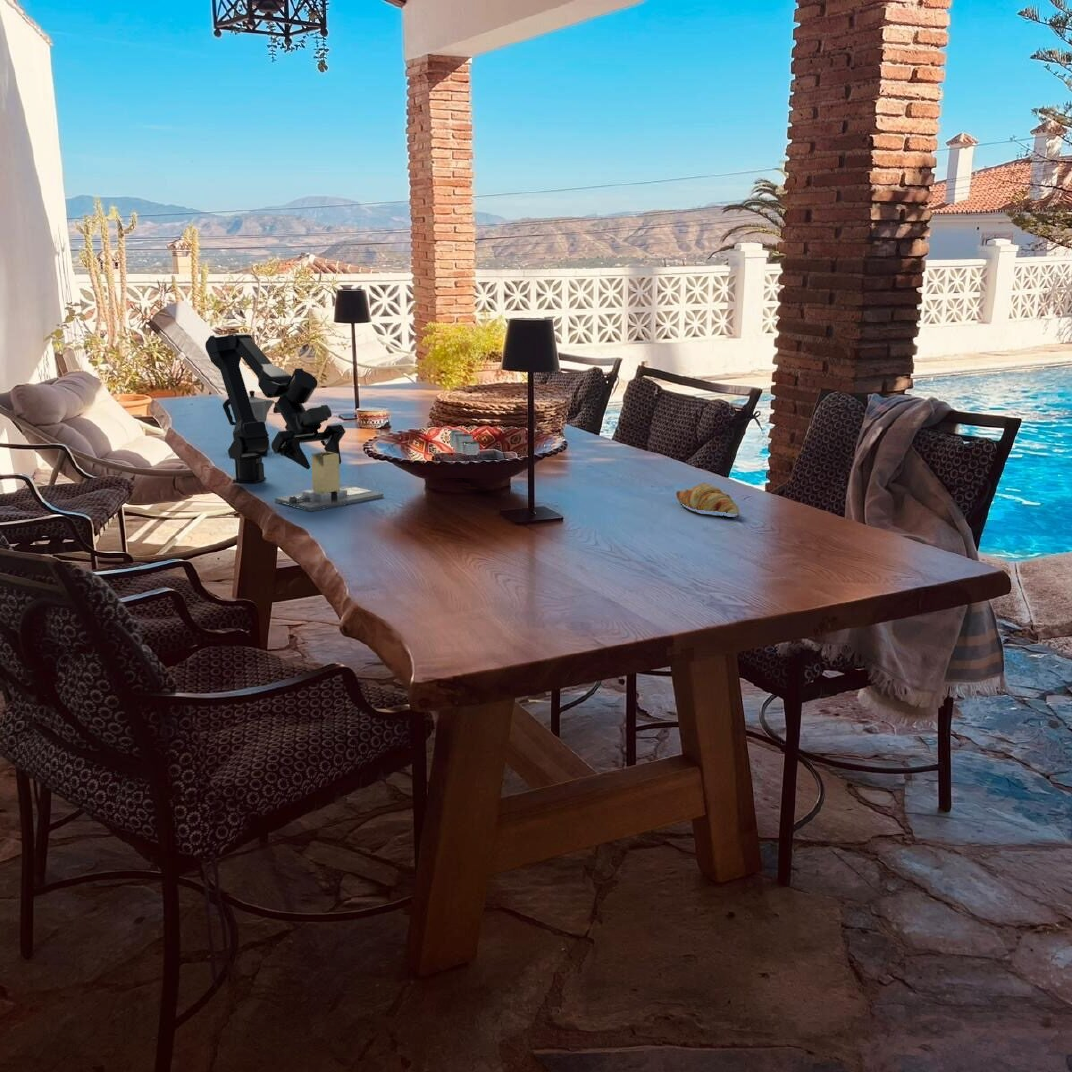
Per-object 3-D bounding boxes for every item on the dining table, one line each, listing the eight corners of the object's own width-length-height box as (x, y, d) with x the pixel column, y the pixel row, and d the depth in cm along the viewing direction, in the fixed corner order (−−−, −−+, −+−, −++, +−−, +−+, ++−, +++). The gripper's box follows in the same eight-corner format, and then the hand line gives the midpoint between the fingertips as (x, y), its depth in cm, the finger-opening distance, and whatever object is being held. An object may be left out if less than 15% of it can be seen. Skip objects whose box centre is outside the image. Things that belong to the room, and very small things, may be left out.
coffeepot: (277, 446, 327) (274, 388, 323) (276, 451, 319) (273, 392, 314) (226, 446, 324) (222, 389, 320) (224, 452, 315) (220, 392, 311)
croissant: (745, 533, 243) (759, 502, 243) (719, 518, 237) (733, 486, 237) (683, 513, 260) (697, 484, 260) (658, 499, 254) (671, 469, 254)
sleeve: (312, 490, 252) (311, 453, 250) (328, 487, 255) (327, 451, 253) (324, 493, 249) (323, 456, 247) (339, 490, 253) (338, 453, 250)
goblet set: (483, 489, 269) (483, 438, 266) (462, 490, 267) (462, 439, 264) (451, 469, 295) (450, 423, 291) (431, 471, 292) (431, 424, 289)
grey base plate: (272, 502, 250) (271, 473, 248) (347, 489, 266) (347, 462, 264) (307, 512, 241) (306, 482, 239) (383, 497, 257) (382, 469, 255)
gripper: (275, 397, 244) (306, 449, 239) (339, 391, 257) (369, 440, 253) (258, 427, 251) (287, 478, 246) (321, 420, 264) (350, 468, 260)
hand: (324, 465), depth 251 cm, fingers open, 9 cm apart
